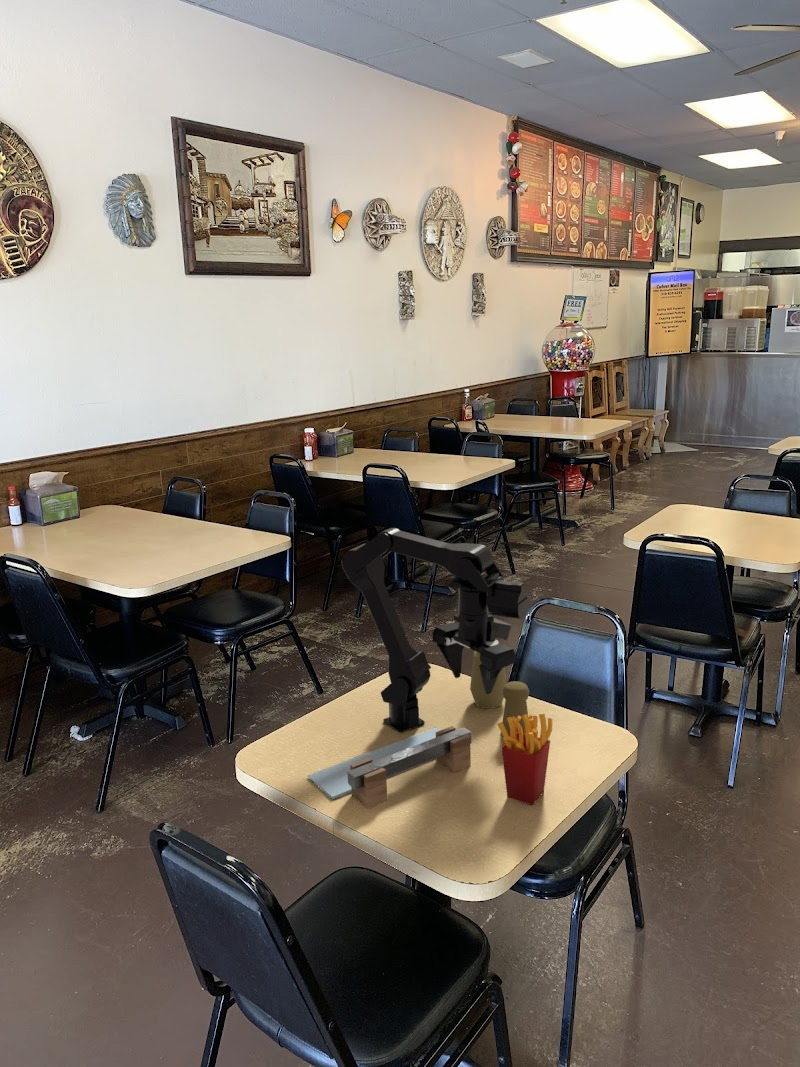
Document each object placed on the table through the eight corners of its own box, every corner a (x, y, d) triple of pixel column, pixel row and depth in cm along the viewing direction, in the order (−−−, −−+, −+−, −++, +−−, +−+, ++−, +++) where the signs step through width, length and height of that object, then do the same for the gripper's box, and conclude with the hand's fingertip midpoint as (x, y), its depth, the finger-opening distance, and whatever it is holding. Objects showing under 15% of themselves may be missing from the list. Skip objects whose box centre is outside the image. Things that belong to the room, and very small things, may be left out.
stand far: (436, 760, 152) (435, 732, 151) (452, 754, 155) (452, 726, 153) (454, 772, 148) (453, 743, 147) (470, 765, 150) (470, 736, 149)
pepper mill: (529, 727, 164) (530, 677, 162) (531, 741, 158) (532, 690, 156) (500, 726, 165) (500, 677, 162) (501, 741, 159) (500, 690, 156)
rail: (355, 789, 137) (354, 777, 137) (348, 784, 139) (347, 771, 139) (471, 743, 152) (471, 731, 151) (463, 738, 153) (463, 727, 153)
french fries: (536, 809, 136) (537, 729, 132) (492, 796, 140) (491, 718, 137) (555, 784, 143) (556, 708, 140) (512, 773, 147) (513, 698, 144)
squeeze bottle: (510, 697, 178) (510, 621, 174) (502, 713, 171) (502, 634, 166) (475, 693, 181) (474, 618, 176) (466, 709, 173) (465, 631, 169)
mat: (307, 778, 148) (307, 775, 148) (436, 729, 164) (436, 727, 164) (332, 799, 141) (332, 796, 141) (463, 747, 157) (463, 744, 157)
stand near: (351, 795, 142) (350, 764, 141) (370, 787, 144) (369, 757, 143) (368, 808, 138) (366, 777, 136) (387, 800, 140) (386, 770, 138)
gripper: (538, 614, 151) (535, 690, 154) (472, 590, 165) (472, 660, 169) (494, 628, 144) (493, 707, 148) (430, 601, 159) (431, 673, 163)
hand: (472, 685), depth 157 cm, fingers open, 9 cm apart
